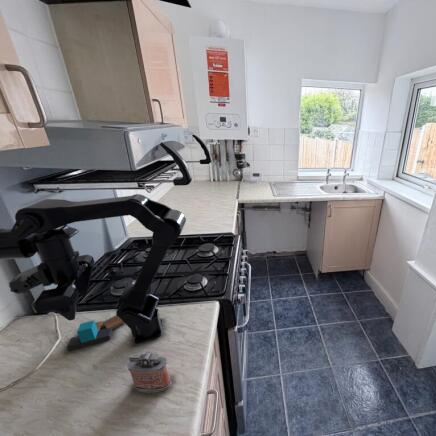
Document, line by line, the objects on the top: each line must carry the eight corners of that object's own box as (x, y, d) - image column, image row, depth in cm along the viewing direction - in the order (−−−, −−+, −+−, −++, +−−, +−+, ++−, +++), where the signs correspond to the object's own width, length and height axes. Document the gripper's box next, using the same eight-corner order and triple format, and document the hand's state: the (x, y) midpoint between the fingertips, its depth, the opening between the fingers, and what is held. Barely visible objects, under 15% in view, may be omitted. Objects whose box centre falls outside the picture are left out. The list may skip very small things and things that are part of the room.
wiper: (112, 331, 67) (107, 316, 65) (110, 339, 65) (105, 324, 63) (72, 341, 64) (66, 327, 62) (68, 351, 61) (61, 335, 59)
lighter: (174, 377, 56) (167, 348, 52) (167, 392, 53) (159, 362, 49) (139, 377, 56) (130, 348, 52) (131, 392, 53) (120, 362, 49)
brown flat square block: (124, 323, 70) (123, 320, 69) (108, 332, 67) (107, 329, 66) (118, 317, 72) (118, 314, 72) (103, 325, 69) (102, 322, 69)
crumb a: (102, 324, 69) (101, 321, 69) (99, 334, 66) (98, 331, 66) (85, 328, 68) (84, 325, 67) (81, 339, 64) (80, 336, 64)
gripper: (30, 242, 58) (52, 292, 64) (-21, 287, 43) (14, 347, 49) (86, 235, 63) (102, 282, 69) (58, 274, 47) (82, 330, 53)
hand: (78, 306), depth 60 cm, fingers open, 9 cm apart
